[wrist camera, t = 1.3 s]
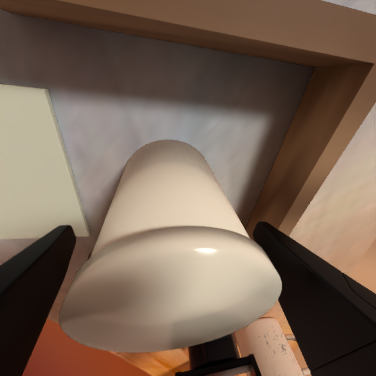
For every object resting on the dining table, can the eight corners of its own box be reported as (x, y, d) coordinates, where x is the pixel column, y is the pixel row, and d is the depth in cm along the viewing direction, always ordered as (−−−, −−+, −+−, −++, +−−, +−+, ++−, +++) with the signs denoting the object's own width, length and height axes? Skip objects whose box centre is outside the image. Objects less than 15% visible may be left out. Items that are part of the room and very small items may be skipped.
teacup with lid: (235, 338, 35) (263, 435, 26) (230, 324, 30) (263, 440, 20) (290, 323, 35) (339, 416, 25) (294, 307, 30) (359, 416, 20)
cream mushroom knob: (115, 132, 9) (7, 261, 3) (221, 140, 11) (326, 244, 4) (127, 237, 14) (99, 377, 8) (200, 235, 15) (230, 354, 9)
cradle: (245, 253, 18) (259, 281, 15) (92, 261, 15) (79, 297, 13) (347, 42, 9) (424, 27, 6) (-5, -36, 6) (-128, -120, 3)
